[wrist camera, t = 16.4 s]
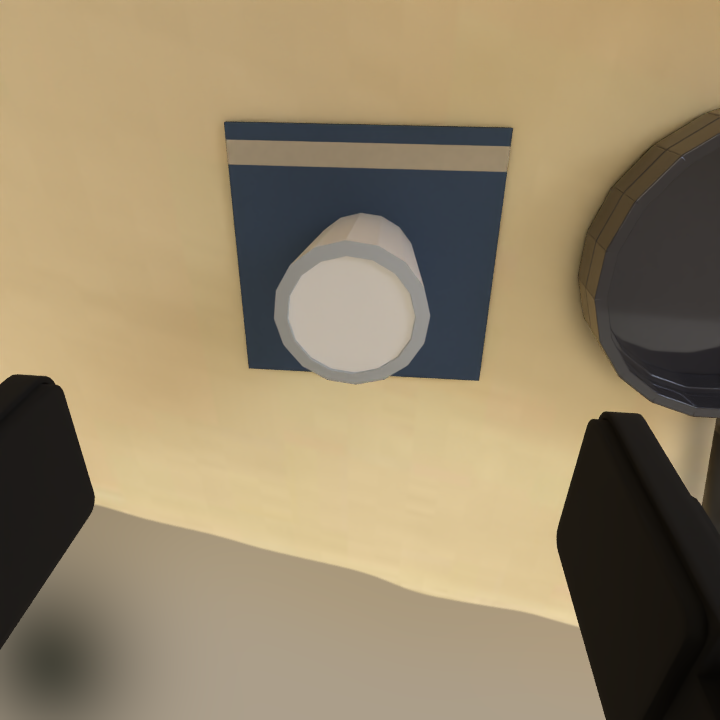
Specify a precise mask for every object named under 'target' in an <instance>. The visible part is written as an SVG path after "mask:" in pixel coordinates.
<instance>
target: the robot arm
mask: <svg viewBox="0 0 720 720" xmlns="http://www.w3.org/2000/svg"><path fill="white" fill-rule="evenodd" d="M94 501H95V496H94V491H93V488H92V485H91V481H90V478H89V475H88V471H87V468H86V465H85V462H84V458H83V455H82V452H81V448H80V445H79V442H78V438H77V435H76V432H75V428H74V425H73V422H72V418H71V415H70V412H69V408H68V405H67V402H66V398H65V395H64V392H63V390H62V388H61V387H60V386H58V385H55V383H54V381H53V380H52V379H51V378H49V377H47V376H34V375H18V374H17V375H12V376H10V377H9V378H7V379H6V380H5V381H4V382H2V383H1V384H0V649H1V647H2V646H3V645H4V643H5V642H6V640H7V639H8V637H9V636H10V634H11V633H12V631H13V630H14V628H15V627H16V625H17V623H18V622H19V621H20V619H21V618H22V616H23V615H24V613H25V612H26V610H27V609H28V607H29V606H30V604H31V603H32V601H33V600H34V598H35V597H36V595H37V594H38V592H39V591H40V589H41V588H42V586H43V585H44V583H45V582H46V580H47V579H48V577H49V576H50V574H51V573H52V571H53V570H54V568H55V567H56V565H57V564H58V562H59V561H60V559H61V558H62V556H63V555H64V553H65V552H66V550H67V549H68V547H69V546H70V544H71V543H72V541H73V540H74V538H75V537H76V535H77V534H78V532H79V531H80V529H81V528H82V526H83V524H84V523H85V522H86V520H87V519H88V517H89V516H90V514H91V512H92V510H93V507H94ZM557 549H558V553H559V556H560V560H561V563H562V567H563V570H564V574H565V577H566V581H567V584H568V588H569V591H570V595H571V598H572V602H573V606H574V609H575V613H576V616H577V620H578V623H579V627H580V630H581V634H582V637H583V640H584V644H585V647H586V651H587V655H588V658H589V662H590V665H591V669H592V672H593V675H594V679H595V683H596V686H597V690H598V693H599V697H600V700H601V704H602V707H603V711H604V714H605V718H606V720H720V534H719V533H718V531H717V529H716V528H715V526H714V524H713V523H712V521H711V520H710V518H709V516H708V515H707V513H706V512H705V510H704V508H703V507H702V505H701V504H700V503H699V502H698V500H697V499H696V498H694V497H692V496H691V495H690V493H689V492H688V490H687V488H686V487H685V485H684V483H683V482H682V480H681V478H680V477H679V475H678V474H677V472H676V470H675V469H674V467H673V465H672V464H671V462H670V460H669V459H668V457H667V455H666V454H665V452H664V450H663V449H662V447H661V446H660V444H659V442H658V441H657V439H656V437H655V436H654V434H653V432H652V431H651V429H650V427H649V426H648V424H647V422H646V421H645V419H644V418H643V417H642V415H640V414H637V413H621V412H603V413H602V414H601V415H600V417H599V419H592V420H590V421H589V423H588V425H587V428H586V432H585V435H584V439H583V442H582V446H581V449H580V452H579V456H578V459H577V463H576V466H575V470H574V473H573V477H572V480H571V484H570V487H569V491H568V494H567V497H566V501H565V504H564V508H563V511H562V515H561V518H560V522H559V525H558V529H557Z"/></svg>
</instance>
